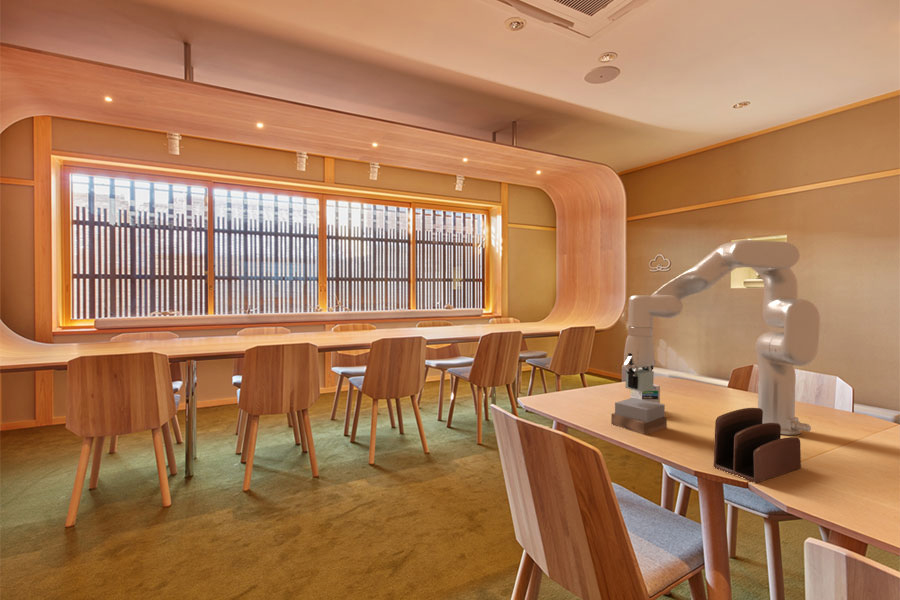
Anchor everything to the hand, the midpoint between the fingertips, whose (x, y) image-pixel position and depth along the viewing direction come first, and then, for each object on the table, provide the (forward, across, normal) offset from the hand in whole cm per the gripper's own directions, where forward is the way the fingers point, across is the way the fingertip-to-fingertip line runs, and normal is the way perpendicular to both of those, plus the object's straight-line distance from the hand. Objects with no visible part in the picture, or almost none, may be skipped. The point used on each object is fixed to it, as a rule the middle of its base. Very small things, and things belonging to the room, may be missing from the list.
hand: (639, 386), depth 139 cm
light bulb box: (+13, -17, -10) cm, 24 cm away
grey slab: (+10, 0, 0) cm, 10 cm away
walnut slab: (+14, 0, 0) cm, 14 cm away
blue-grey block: (+1, 0, 0) cm, 1 cm away
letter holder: (+13, +4, +36) cm, 39 cm away
